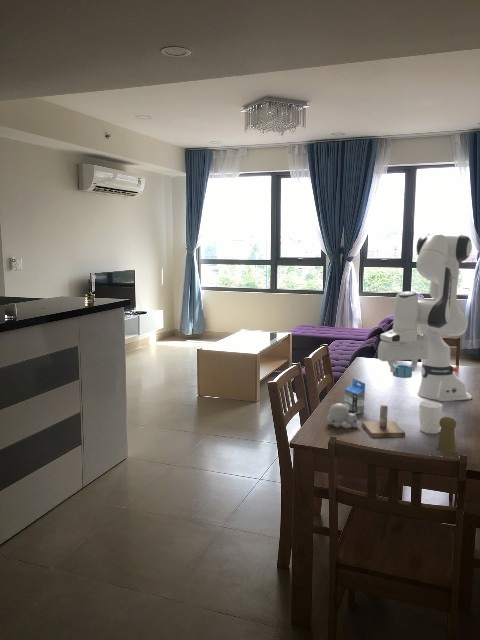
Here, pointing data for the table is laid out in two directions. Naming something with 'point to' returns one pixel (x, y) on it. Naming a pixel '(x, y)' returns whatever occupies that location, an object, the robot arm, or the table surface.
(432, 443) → the table surface
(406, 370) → the ring
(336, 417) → the round bodied animal figurine
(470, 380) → the table surface
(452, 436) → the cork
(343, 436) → the table surface
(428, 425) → the white cup
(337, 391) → the table surface
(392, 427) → the post block
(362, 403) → the blue printed box
